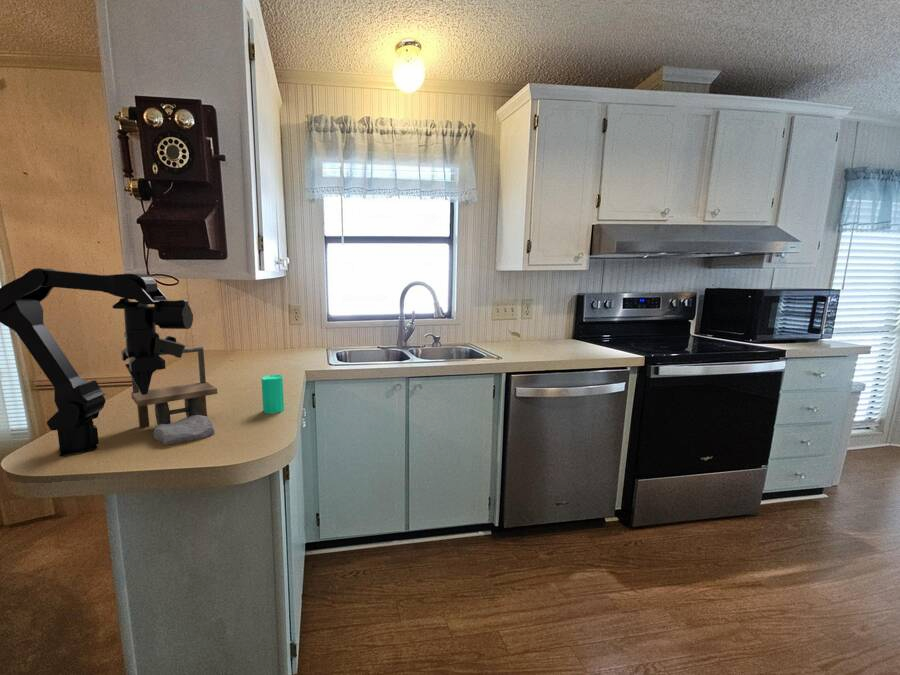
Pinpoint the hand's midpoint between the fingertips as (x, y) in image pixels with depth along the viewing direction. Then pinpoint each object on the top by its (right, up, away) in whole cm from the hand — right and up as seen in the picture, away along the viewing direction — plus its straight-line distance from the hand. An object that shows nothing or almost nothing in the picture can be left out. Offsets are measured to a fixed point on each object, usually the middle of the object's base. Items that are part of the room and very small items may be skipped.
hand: (144, 394), depth 101 cm
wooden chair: (-3, -10, +17) cm, 20 cm away
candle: (+18, -9, +30) cm, 36 cm away
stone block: (+5, -12, +8) cm, 15 cm away
